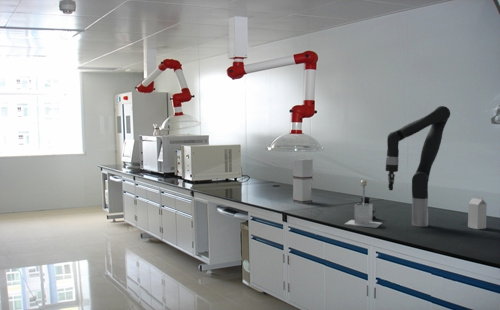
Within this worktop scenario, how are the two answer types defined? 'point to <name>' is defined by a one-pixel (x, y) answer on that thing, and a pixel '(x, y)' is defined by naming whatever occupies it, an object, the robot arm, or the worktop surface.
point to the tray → (373, 224)
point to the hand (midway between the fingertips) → (390, 189)
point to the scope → (368, 203)
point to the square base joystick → (363, 214)
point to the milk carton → (477, 213)
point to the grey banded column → (302, 180)
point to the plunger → (363, 183)
